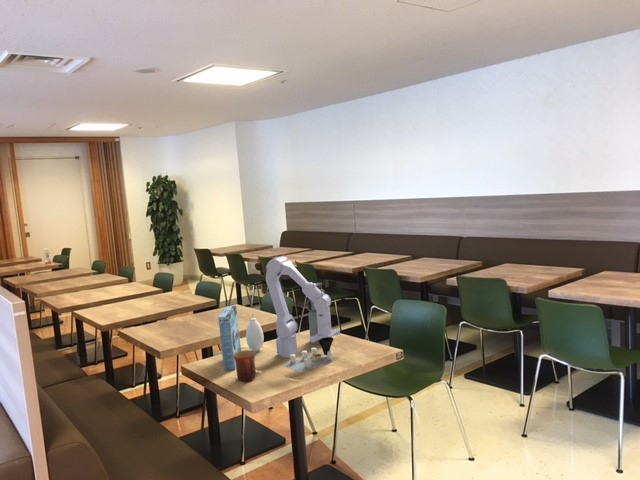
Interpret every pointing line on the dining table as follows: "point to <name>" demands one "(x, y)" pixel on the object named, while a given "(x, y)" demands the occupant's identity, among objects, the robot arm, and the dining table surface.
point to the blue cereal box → (229, 336)
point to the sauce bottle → (254, 335)
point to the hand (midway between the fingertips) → (326, 354)
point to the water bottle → (313, 315)
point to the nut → (316, 357)
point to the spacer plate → (312, 364)
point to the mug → (245, 365)
